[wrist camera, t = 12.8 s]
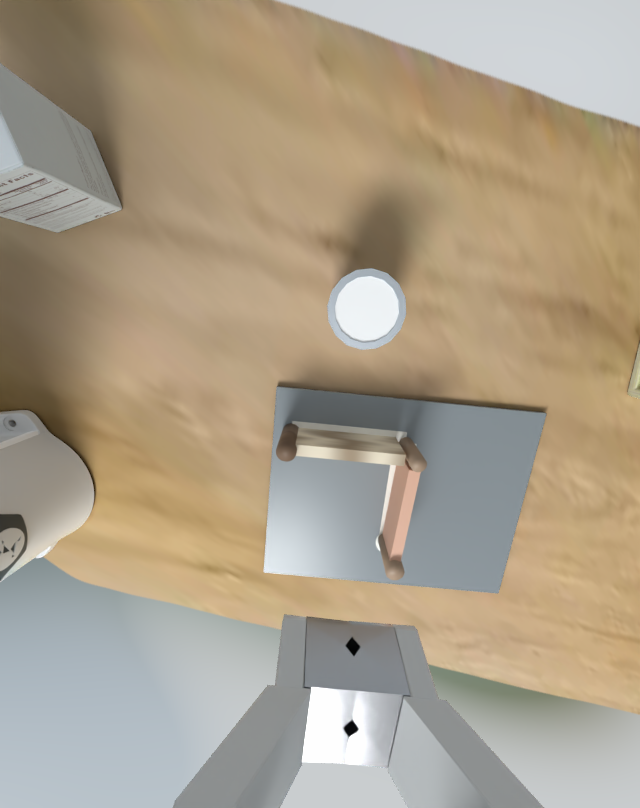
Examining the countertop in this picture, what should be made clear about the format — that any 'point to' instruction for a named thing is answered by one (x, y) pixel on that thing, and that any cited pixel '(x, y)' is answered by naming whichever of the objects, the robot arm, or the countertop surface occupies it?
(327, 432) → the fixed fence panel
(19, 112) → the supplement box
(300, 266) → the countertop surface
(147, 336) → the countertop surface
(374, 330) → the white cup
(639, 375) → the toy refrigerator
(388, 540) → the hinged fence panel
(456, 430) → the card
